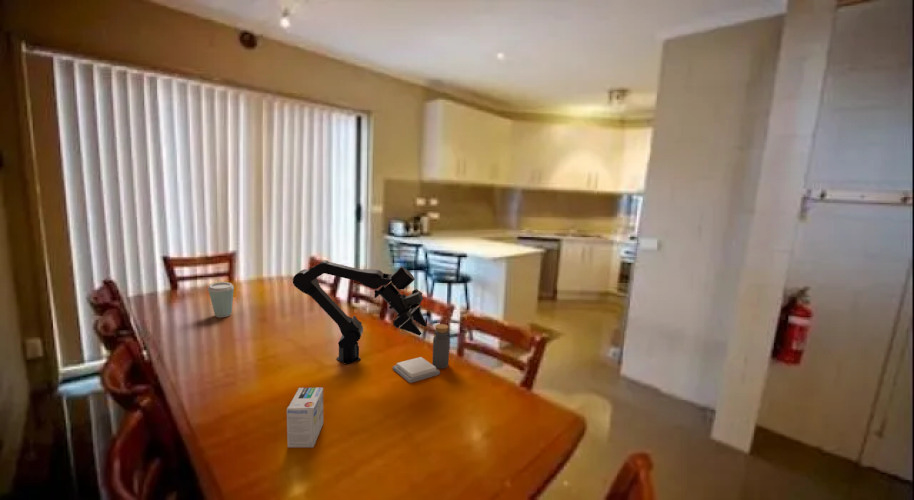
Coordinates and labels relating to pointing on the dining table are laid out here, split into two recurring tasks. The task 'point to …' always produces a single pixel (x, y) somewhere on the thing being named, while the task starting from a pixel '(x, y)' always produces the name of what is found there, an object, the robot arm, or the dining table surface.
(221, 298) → the disposable coffee cup
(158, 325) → the dining table surface
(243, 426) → the dining table surface
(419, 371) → the pedestal
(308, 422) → the light bulb box
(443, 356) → the bottle
